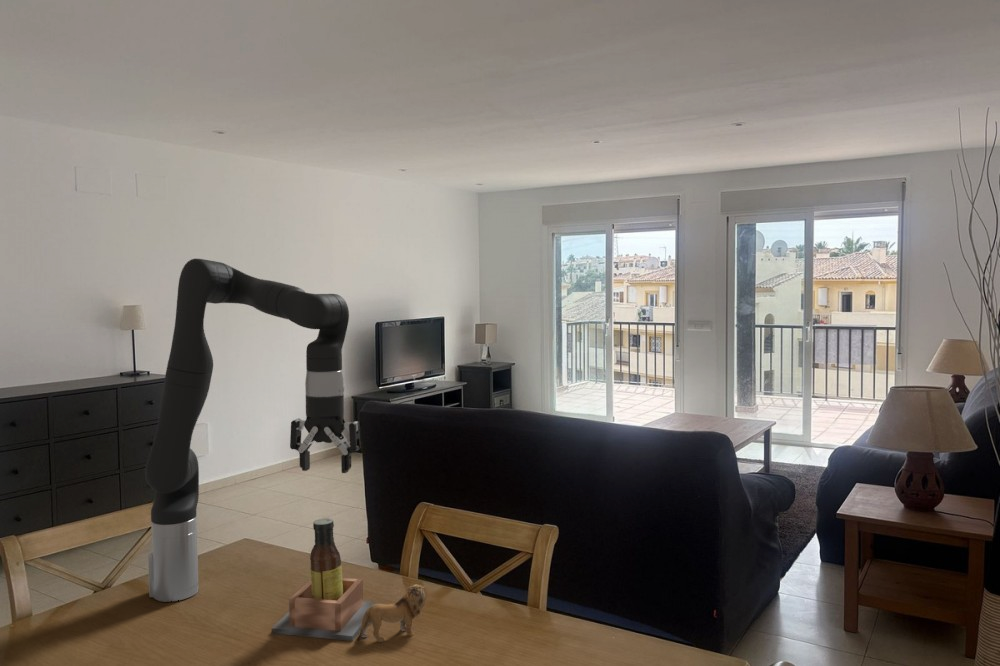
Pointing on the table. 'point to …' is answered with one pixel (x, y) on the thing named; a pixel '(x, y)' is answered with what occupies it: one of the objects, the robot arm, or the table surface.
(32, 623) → the table surface
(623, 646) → the table surface
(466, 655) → the table surface
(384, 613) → the lion figurine
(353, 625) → the bottle holder
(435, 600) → the table surface
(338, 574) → the sauce bottle
